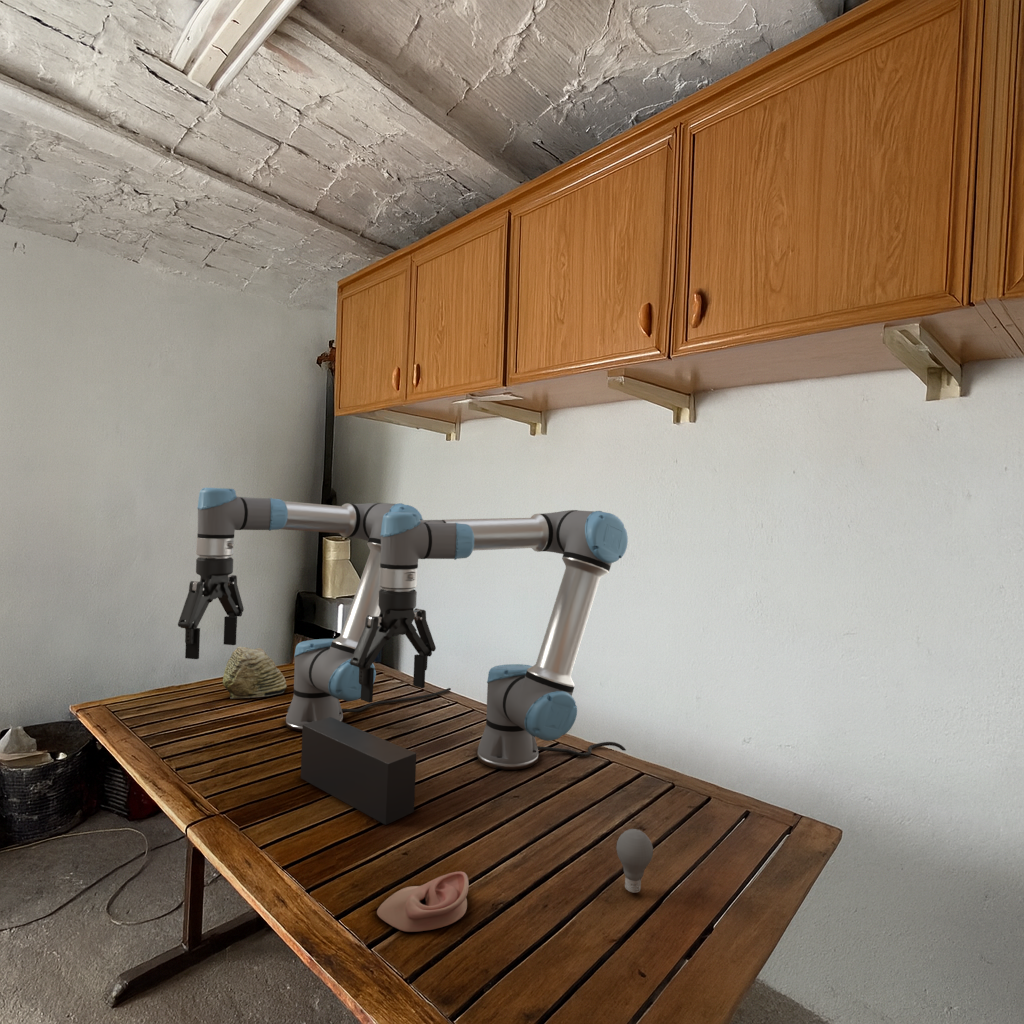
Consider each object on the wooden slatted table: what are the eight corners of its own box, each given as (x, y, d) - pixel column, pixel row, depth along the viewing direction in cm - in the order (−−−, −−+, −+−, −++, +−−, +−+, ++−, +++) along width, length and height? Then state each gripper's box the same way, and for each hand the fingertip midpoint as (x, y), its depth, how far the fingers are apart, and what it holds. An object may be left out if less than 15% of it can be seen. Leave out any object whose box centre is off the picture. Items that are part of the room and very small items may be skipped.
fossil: (218, 695, 195) (220, 647, 195) (278, 685, 208) (279, 640, 207) (228, 703, 189) (230, 653, 188) (289, 692, 201) (290, 645, 201)
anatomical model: (369, 898, 94) (398, 856, 105) (368, 925, 94) (397, 880, 106) (454, 914, 92) (475, 869, 103) (453, 941, 92) (474, 893, 103)
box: (300, 778, 142) (302, 724, 142) (328, 768, 148) (330, 716, 147) (385, 825, 123) (388, 763, 123) (414, 811, 129) (416, 753, 129)
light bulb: (610, 879, 108) (613, 822, 108) (644, 879, 109) (647, 822, 109) (619, 902, 102) (622, 840, 102) (655, 901, 103) (658, 840, 103)
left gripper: (194, 562, 129) (190, 666, 129) (261, 553, 153) (257, 640, 154) (161, 560, 130) (157, 663, 130) (232, 551, 154) (229, 638, 155)
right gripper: (358, 596, 116) (354, 712, 116) (454, 586, 135) (450, 685, 135) (334, 591, 120) (330, 702, 121) (430, 582, 140) (426, 677, 140)
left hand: (211, 651), depth 142 cm, fingers open, 13 cm apart
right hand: (393, 693), depth 128 cm, fingers open, 13 cm apart
